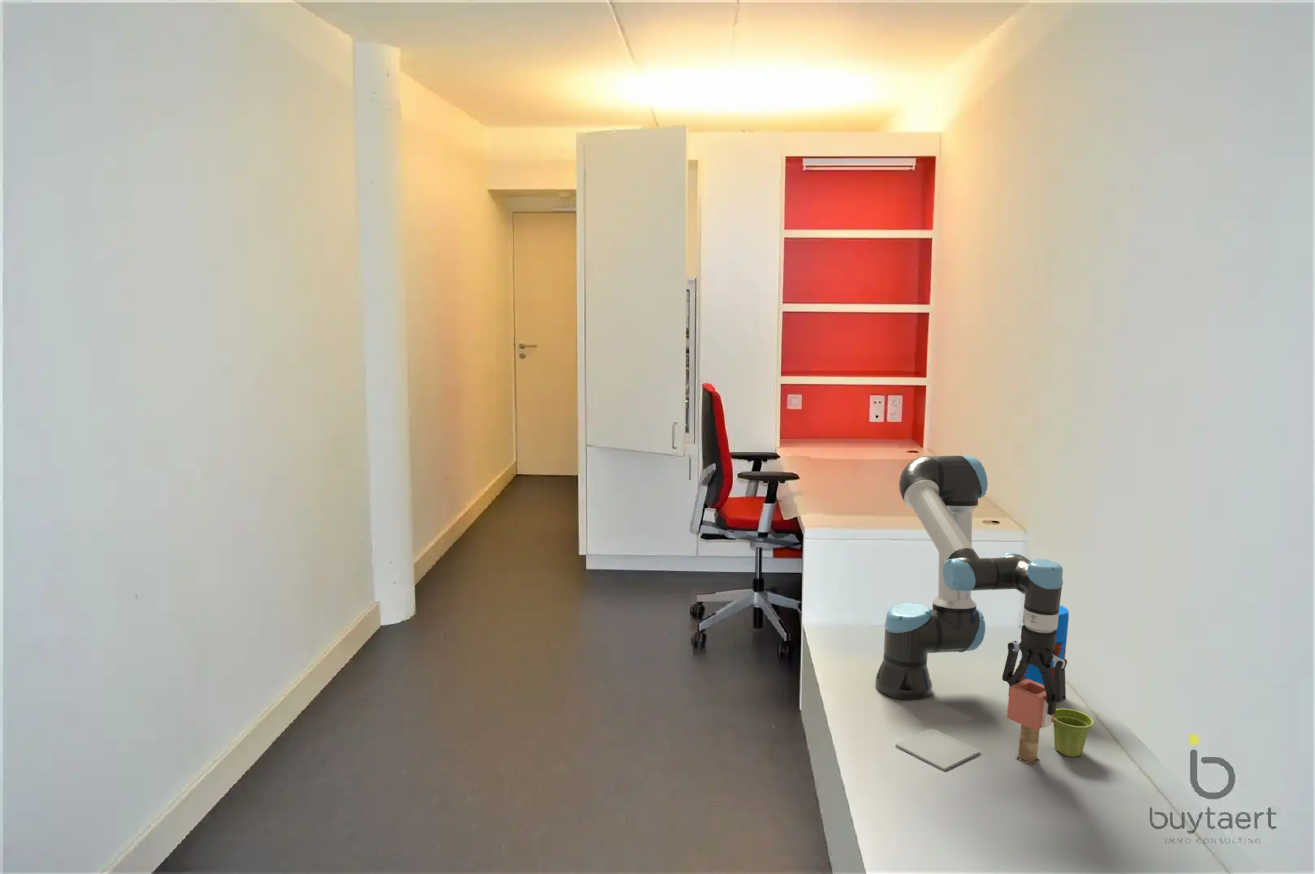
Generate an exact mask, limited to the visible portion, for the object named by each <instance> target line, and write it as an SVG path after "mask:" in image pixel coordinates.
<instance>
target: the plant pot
mask: <svg viewBox="0 0 1315 874" xmlns="http://www.w3.org/2000/svg"><path fill="white" fill-rule="evenodd" d="M1052 723H1053V736H1054V739H1053V740H1054V749H1055V751H1057V752H1058V753H1060V754H1062V755H1063V756H1068V757H1073V758H1074V757H1075V758H1076V757H1077V756H1081V755H1083V752H1084V748H1085V744H1086V741H1087V737H1088V733H1089V731H1090V729H1091V727H1092V726H1093V725H1094V720H1093V718H1092V717H1091V716H1090V715H1088V714H1086V713H1084V712H1081V711H1078V710H1076V709H1071V708H1056V712H1055V714H1054V720H1053V722H1052Z"/></svg>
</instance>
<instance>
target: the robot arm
mask: <svg viewBox="0 0 1315 874" xmlns="http://www.w3.org/2000/svg"><path fill="white" fill-rule="evenodd" d="M898 482H899V483H898V487H899V488H898V489H899V493H900V496H901V498H902V500H903V502H904V503H905V505H906V507H908V508H910V509H912V510H913V511H914V512H915V514H916V516H917V518H918V520H919V521H920V522H921V524H922V526H923V528H924V529H925V531H926V533H927V534H928V536H929V537H930V540H931V541H932V543H933V544H934V546H935V548H936V550H937V552H938V581H937V582H938V585H937V586H938V589H937V590H938V591H937V593H938V594H937V596H936V597H935V599H933V600H932V608H929V606H927V605H926V604H923V603H914V602H904V603H898V604H896V605H893V606H892V607H890V608H889V609H888V610H887V612H886V618H885V622H884V642H883V643H884V645H883V657H882V658H883V659H882V661H881V664H880V666H879V669H878V671H877V674H876V676H875V683H874V685H875V688H876V690H877V691H878V692H880V693H881V694H883V695H885V696H888V697H890V698H894V699H899V700H906V701H916V700H917V701H918V700H923V699H926V698H928V697H930V696H931V695H932V692H933V689H932V688H933V683H932V680H931V677H930V672H929V668H928V655H929V654H937V653H938V654H939V653H956V652H957V653H964V652H970V651H976V649H978V648H979V647H980V646H981V645H982V643H983V641H984V637H985V635H986V620H984V619H985V617H984V615H983V612H982V611H981V610H980V609H978V608H977V605H978V604H977V603H976V602H975V601H974V600H973V599H972V592H973V591H990V590H991V591H998V590H1017V592H1019V593H1022V594H1023V595H1024V604H1023V612H1022V613H1023V614H1022V625H1021V630H1020V631H1021V633H1020V642H1018V641H1017V640H1012V641H1011V642H1008V643H1007V652H1008V653H1007V655H1006V656H1007V657H1006V660H1005V664H1004V667H1003V671H1002V677H1001V679H1002V681H1004V682H1006V683H1007V684H1008V686H1009V687H1008V692H1009V691H1010V686H1012V685H1014V684H1017V683H1019V682H1020V680H1021V678H1022V677H1023V675H1024V673H1025V671H1026V670H1027V668H1028V666H1029V664H1030V665H1034V666H1036V667H1038V669H1039V672H1040V673H1041V676H1042V680H1043V684H1044V688H1045V692H1046V696H1047V700H1045V701H1044V707H1043V716H1042V726H1041V727H1042V729H1046V728H1048V727H1050V726H1051V725H1052V723H1051V718H1052V715H1053V714H1055V712H1056V709H1057V704H1059V703H1062V702H1064V701H1065V700H1066V698H1067V695H1066V694H1067V692H1066V667H1067V664H1068V660H1067V659H1066V658H1065V659H1060V658H1059V657H1057V656H1056V654H1055V651H1054V648H1055V644H1056V635H1057V631H1056V629H1057V627H1058V616H1059V606H1060V605H1061V597H1062V589H1063V588H1062V587H1063V582H1064V579H1063V572H1064V571H1063V566H1062V565H1061V564H1060V563H1058V562H1056V561H1052V560H1050V559H1042V558H1036V559H1031V560H1030V559H1028V557H1026V556H1024V555H1022V554H1019V553H1016V552H1012V551H1011V552H1010V551H1009V552H1005V553H1004V554H1002V555H1000V556H999V557H979V555H978V554H977V552H976V551H975V549H974V548H973V546H972V545H973V544H972V539H973V511H974V510H975V509H976V508H978V507H979V499H982V498H983V497H984V496H986V494H987V493H986V492H987V491H988V485H989V484H988V483H989V482H988V477H987V472H986V469H985V467H984V465H983V464H982V462H981V461H980V460H979V459H978V458H976V457H975V456H970V455H969V456H968V455H934V456H932V455H922V456H919V457H916V458H915V459H912V460H911V461H910V462H908V463H907V465H906V466H905V467H904V469H903V470H902V472H901V474H900V477H899V481H898ZM1019 651H1020V652H1021V654H1022V655H1023V657H1022V658H1021V657H1020V661H1019V662H1018V663H1019V664H1018V665H1017V667H1016V664H1017V660H1018V656H1019ZM1052 660H1053V662H1054V665H1053V666H1054V667H1055V669H1054V679H1053V675H1052V671H1051V670H1052V666H1051V661H1052ZM1015 668H1016V669H1015ZM1054 680H1055V683H1054Z"/></svg>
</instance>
